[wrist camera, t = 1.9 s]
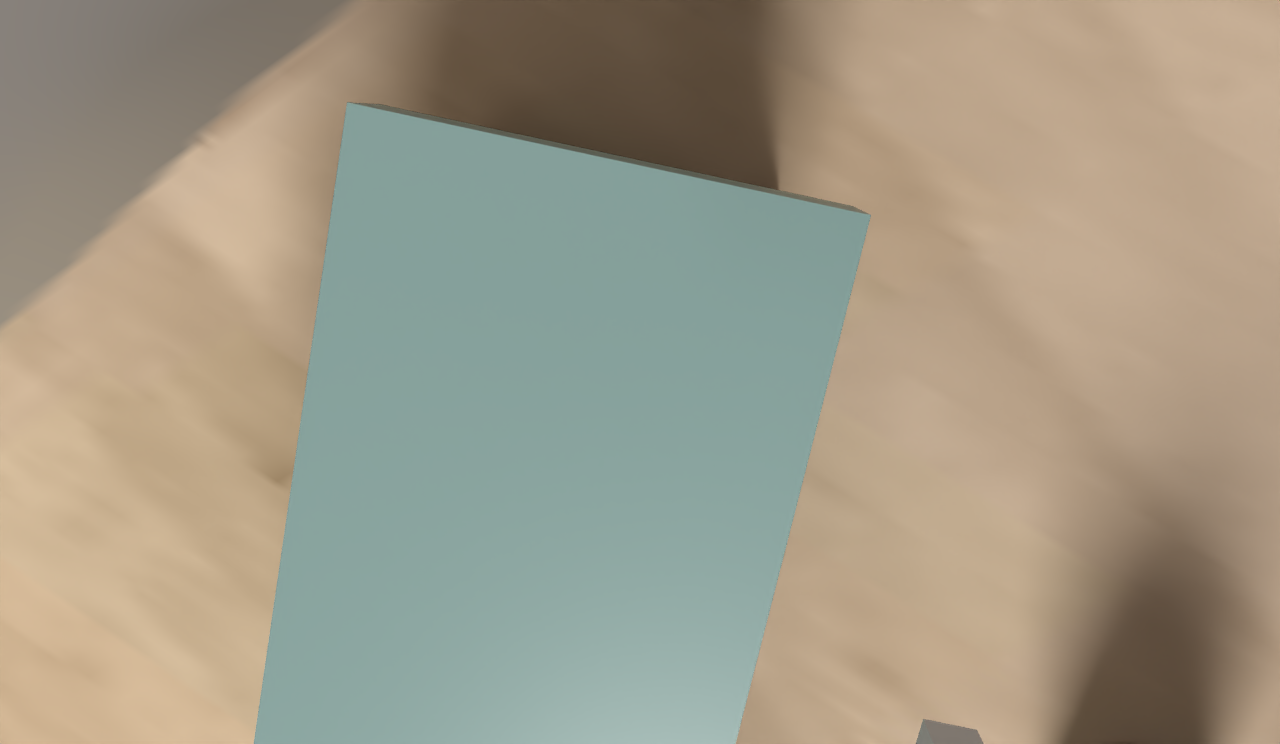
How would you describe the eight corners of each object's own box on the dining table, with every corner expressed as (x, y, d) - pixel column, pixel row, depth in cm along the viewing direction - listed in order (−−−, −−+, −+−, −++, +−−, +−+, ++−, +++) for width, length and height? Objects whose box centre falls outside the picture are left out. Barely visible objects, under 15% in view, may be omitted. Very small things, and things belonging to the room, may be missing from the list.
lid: (843, 201, 27) (870, 215, 23) (707, 747, 30) (710, 840, 26) (396, 105, 27) (347, 102, 23) (309, 663, 30) (253, 744, 26)
